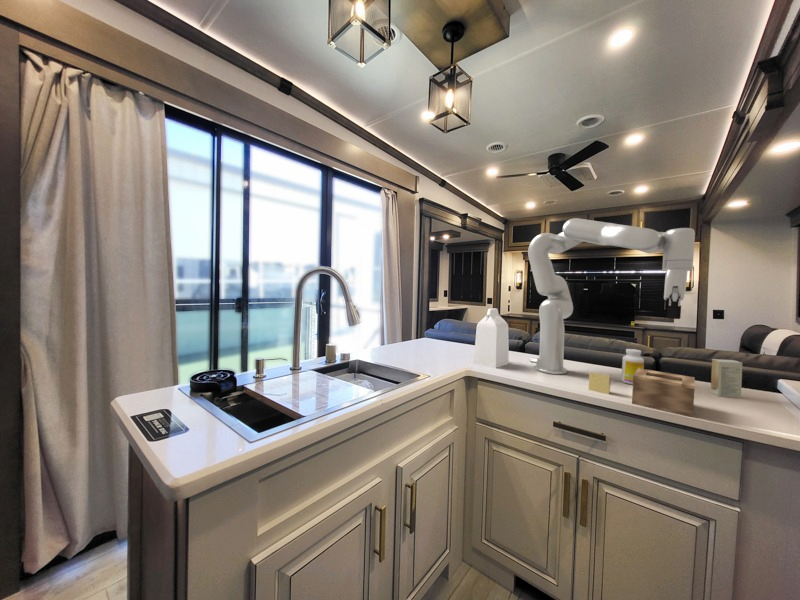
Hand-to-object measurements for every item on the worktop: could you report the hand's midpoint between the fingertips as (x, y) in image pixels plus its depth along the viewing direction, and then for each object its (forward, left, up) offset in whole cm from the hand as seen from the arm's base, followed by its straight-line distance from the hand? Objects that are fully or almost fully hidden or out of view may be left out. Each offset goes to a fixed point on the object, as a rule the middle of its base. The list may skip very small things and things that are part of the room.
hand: (673, 317), depth 102 cm
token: (-18, -11, -27) cm, 34 cm away
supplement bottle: (-11, +9, -27) cm, 31 cm away
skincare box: (+14, +16, -27) cm, 34 cm away
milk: (-63, -4, -27) cm, 69 cm away
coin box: (-1, -11, -27) cm, 29 cm away
